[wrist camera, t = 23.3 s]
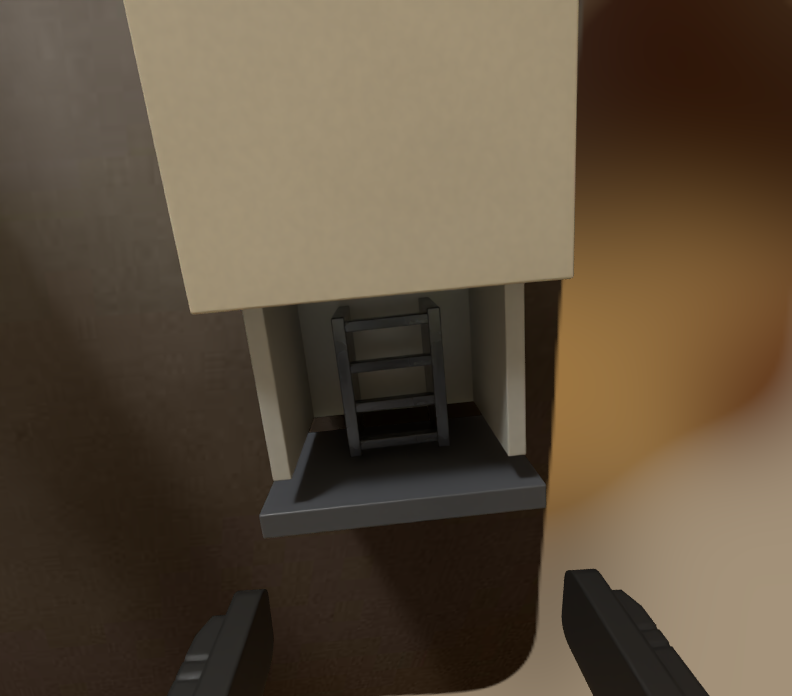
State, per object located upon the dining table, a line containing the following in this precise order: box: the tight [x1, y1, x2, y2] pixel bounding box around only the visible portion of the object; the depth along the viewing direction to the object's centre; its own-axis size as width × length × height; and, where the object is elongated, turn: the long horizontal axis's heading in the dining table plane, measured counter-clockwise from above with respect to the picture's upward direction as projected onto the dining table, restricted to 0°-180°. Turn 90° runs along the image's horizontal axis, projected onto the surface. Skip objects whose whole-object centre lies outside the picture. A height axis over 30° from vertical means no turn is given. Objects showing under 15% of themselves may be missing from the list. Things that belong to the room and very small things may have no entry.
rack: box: [331, 297, 450, 457], centre depth 21 cm, size 5×7×4 cm
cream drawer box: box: [123, 0, 579, 314], centre depth 17 cm, size 20×14×10 cm
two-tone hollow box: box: [242, 283, 546, 538], centre depth 19 cm, size 20×13×8 cm, turn 5°
